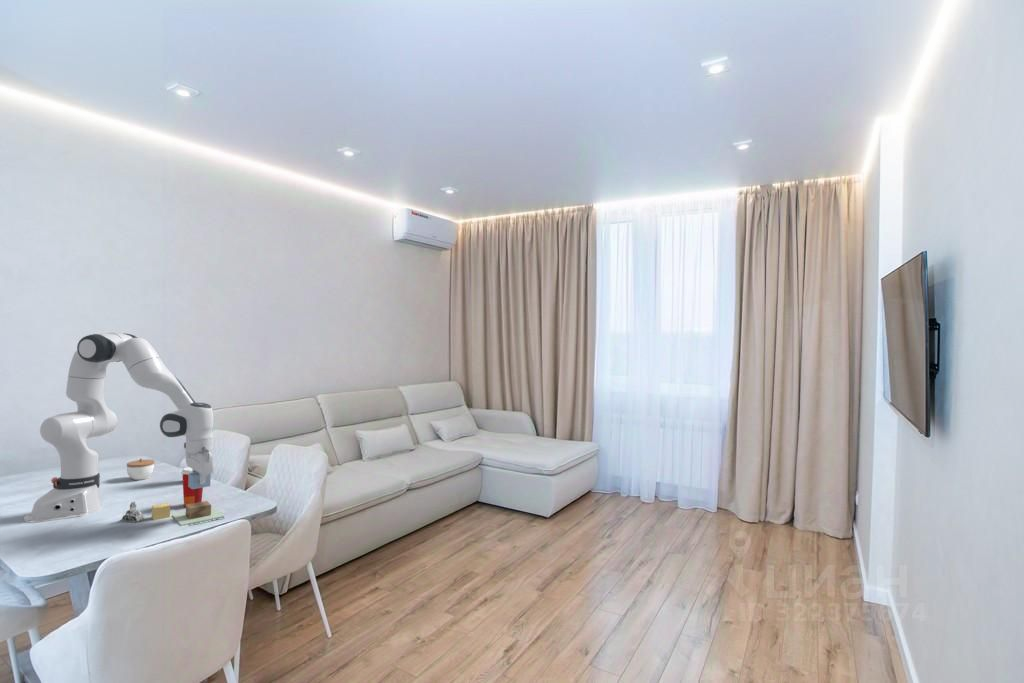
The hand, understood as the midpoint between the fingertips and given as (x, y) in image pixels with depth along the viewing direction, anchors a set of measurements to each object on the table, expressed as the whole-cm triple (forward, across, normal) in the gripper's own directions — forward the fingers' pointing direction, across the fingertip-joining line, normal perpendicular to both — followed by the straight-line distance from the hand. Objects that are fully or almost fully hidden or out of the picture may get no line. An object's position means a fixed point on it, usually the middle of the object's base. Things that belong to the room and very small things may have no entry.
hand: (199, 482), depth 191 cm
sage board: (+14, 0, 0) cm, 14 cm away
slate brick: (+2, 0, 0) cm, 2 cm away
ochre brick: (+14, +9, +10) cm, 19 cm away
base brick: (+13, 0, 0) cm, 13 cm away
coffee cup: (+14, +18, -3) cm, 23 cm away
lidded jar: (+14, +76, +3) cm, 78 cm away
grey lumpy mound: (+14, +12, +16) cm, 25 cm away
